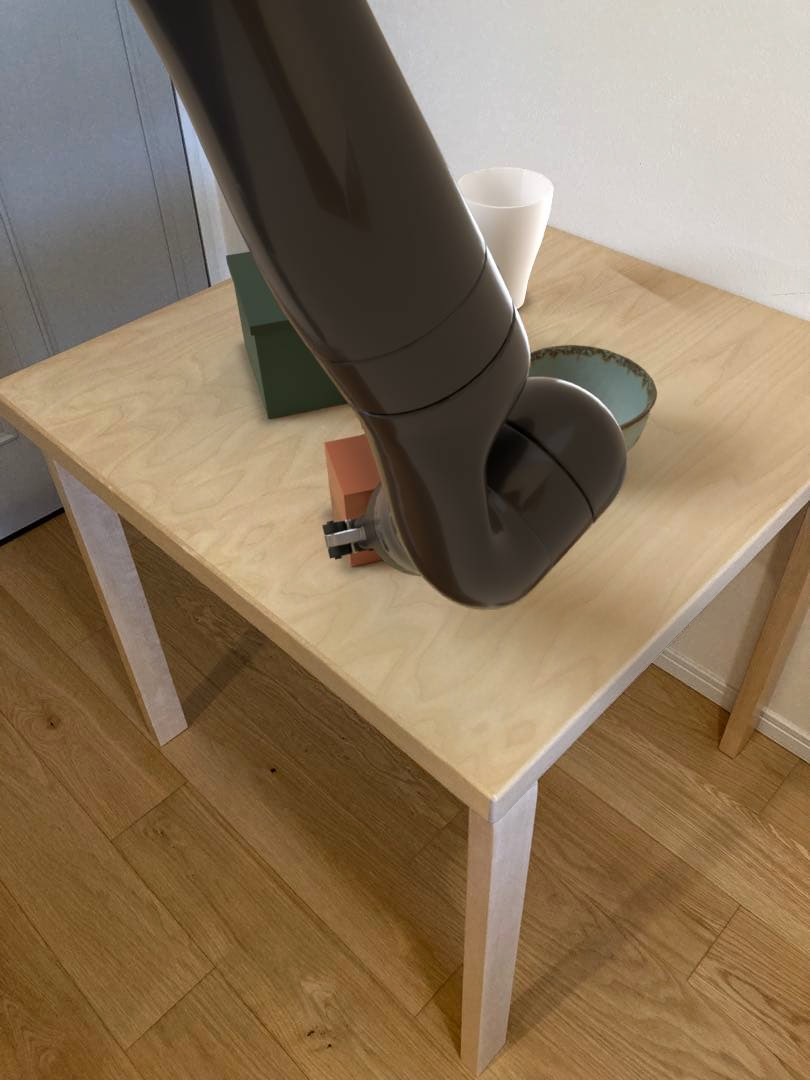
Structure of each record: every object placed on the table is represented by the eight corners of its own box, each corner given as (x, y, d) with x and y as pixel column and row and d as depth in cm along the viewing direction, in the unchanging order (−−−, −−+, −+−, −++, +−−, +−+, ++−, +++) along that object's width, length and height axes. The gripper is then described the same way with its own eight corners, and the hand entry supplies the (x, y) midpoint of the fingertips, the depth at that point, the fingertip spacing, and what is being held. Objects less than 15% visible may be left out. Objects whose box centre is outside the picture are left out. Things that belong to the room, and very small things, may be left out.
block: (351, 567, 75) (343, 495, 69) (332, 512, 80) (324, 441, 74) (430, 548, 76) (430, 477, 70) (407, 496, 81) (405, 425, 75)
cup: (437, 310, 104) (437, 196, 94) (477, 270, 110) (481, 160, 100) (520, 332, 100) (529, 215, 90) (557, 290, 106) (568, 177, 97)
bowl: (616, 522, 78) (630, 450, 72) (474, 479, 82) (477, 408, 77) (659, 433, 86) (674, 363, 81) (528, 399, 91) (534, 330, 85)
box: (265, 421, 89) (249, 326, 82) (242, 345, 99) (225, 255, 92) (405, 393, 92) (402, 299, 85) (368, 322, 102) (362, 232, 95)
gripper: (522, 435, 56) (458, 466, 73) (316, 478, 54) (300, 500, 71) (548, 551, 56) (478, 555, 73) (344, 599, 54) (321, 592, 71)
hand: (391, 528), depth 72 cm, fingers closed
